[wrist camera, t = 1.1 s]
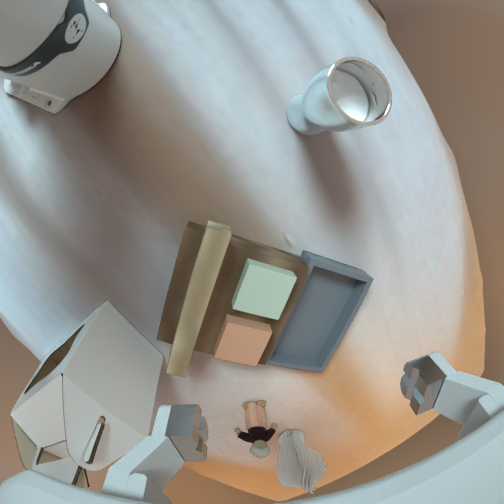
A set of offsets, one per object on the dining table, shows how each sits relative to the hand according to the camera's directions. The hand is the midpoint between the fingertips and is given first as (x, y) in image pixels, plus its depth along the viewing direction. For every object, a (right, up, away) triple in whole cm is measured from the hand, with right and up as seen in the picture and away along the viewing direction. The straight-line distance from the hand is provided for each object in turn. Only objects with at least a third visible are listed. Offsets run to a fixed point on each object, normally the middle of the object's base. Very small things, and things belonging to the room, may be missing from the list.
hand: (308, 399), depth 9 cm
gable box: (-29, -13, +32) cm, 45 cm away
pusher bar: (-9, 0, +25) cm, 27 cm away
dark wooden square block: (-6, 0, +31) cm, 31 cm away
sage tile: (-1, +1, +25) cm, 25 cm away
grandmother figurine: (-2, -24, +39) cm, 46 cm away
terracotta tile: (-4, -6, +28) cm, 28 cm away
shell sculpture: (+7, -36, +44) cm, 58 cm away
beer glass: (+5, +24, +24) cm, 34 cm away
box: (+7, -4, +34) cm, 35 cm away
